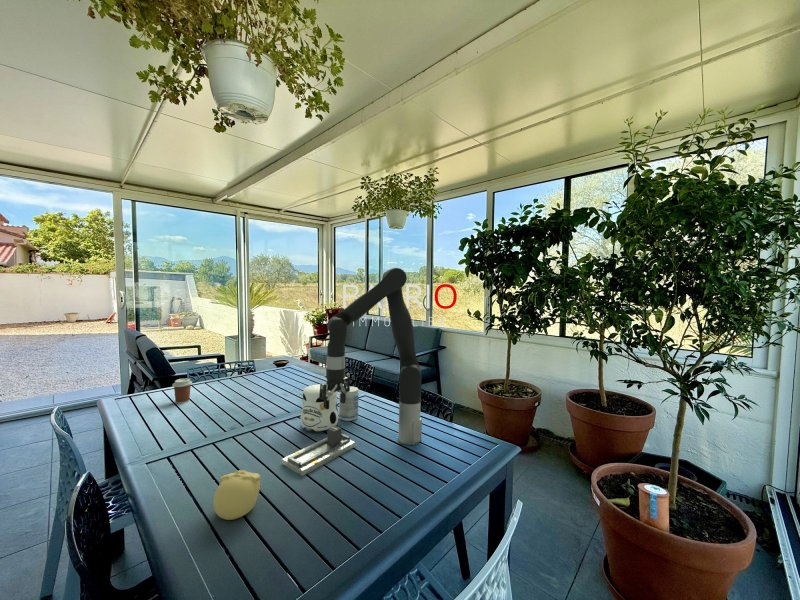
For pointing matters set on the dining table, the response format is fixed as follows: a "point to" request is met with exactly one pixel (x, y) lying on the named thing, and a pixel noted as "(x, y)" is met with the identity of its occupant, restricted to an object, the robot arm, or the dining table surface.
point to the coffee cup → (182, 390)
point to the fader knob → (334, 435)
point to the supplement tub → (349, 405)
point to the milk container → (318, 410)
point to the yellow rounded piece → (236, 494)
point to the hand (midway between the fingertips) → (334, 405)
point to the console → (316, 455)
